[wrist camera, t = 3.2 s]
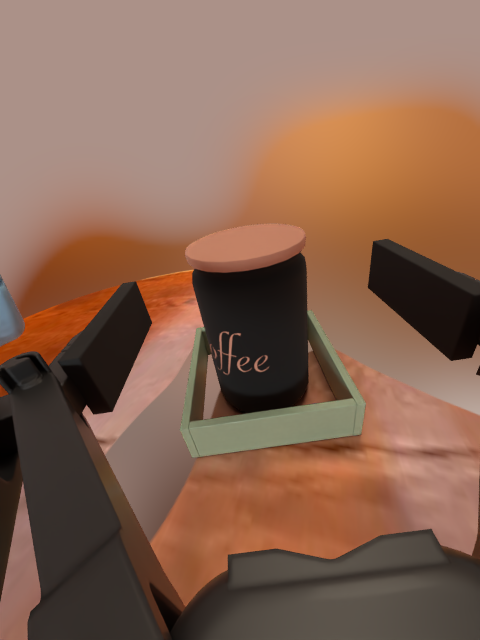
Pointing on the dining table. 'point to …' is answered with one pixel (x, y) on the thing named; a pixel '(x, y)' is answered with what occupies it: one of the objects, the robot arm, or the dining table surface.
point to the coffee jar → (254, 312)
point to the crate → (276, 423)
